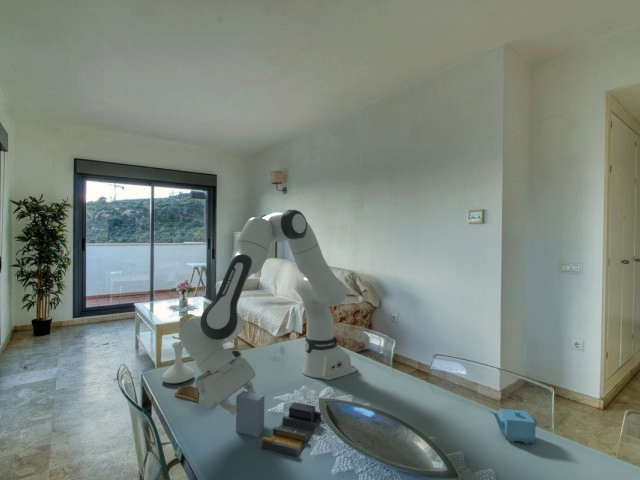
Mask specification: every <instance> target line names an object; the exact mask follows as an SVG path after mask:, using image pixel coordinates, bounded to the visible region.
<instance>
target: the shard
mask: <svg viewBox="0 0 640 480" xmlns="http://www.w3.org/2000/svg"><path fill="white" fill-rule="evenodd" d="M198 394H199V389H198V388H197V386H196V385H184V386H183V385H182V386H179V387H178V388H177V391H176V392H175V393H174V397H178V398H183V399H185V400H189V401H192V402H198V401H199V395H198Z"/></svg>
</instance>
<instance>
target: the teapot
mask: <svg viewBox="0 0 640 480" xmlns="http://www.w3.org/2000/svg"><path fill="white" fill-rule="evenodd" d="M489 413H491V414H493V416H494V417H495V420H496V424H497V425H498V428H499V430H500V431H501V433H502V435H503V436H504V438H505V440H507V441H508V442H510V443H512V444H514V443H515V442H522V443H523V444H524V445H530V443H533V444H536V427H537V426H538V422H537V419H535V418H534V417H533V416H531V415H530V414H529V413H528V412H527V410H526V411H525V410H520V409H519V410H518V409H517V410H516V409H509V408H499V409H498V413H497V412H495V411H490V412H489Z"/></svg>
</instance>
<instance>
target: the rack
mask: <svg viewBox="0 0 640 480" xmlns="http://www.w3.org/2000/svg"><path fill="white" fill-rule="evenodd" d="M322 419H323V418H322V411H316V406H314V405H309V404H305V403H300V402H295V401H294V402H292V404H291V405H290V406H289V408H288V415H287V416H284V415H283V417H282V422H281V423H280V424H279V425H278V426H273V428H272V434H271V435H270V436H269V437H267V436H263V438H262V441H261V450H267V451H271V452H274V453H277V454H282V455H285V456H290V457H294V458H297V457H298V456H299V455H300V454H301V451H303V449H304V447H305V445H306V444H307V443H308V441H309V439H310V438H311V436H312V434H313V433H314V431H315V430H316V429H315V428H317V427H318V426H319V424H320V422H321V421H322Z"/></svg>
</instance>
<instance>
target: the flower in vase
mask: <svg viewBox="0 0 640 480" xmlns="http://www.w3.org/2000/svg"><path fill="white" fill-rule="evenodd" d="M193 316H195V314H192V313H185V314H183V316H181V317H179V318H180V319H179V322H178V328H179V329H180V328H181V326H182V325H183V324H184V323H185V322H186V321H187V320H188V319H190V318H191V317H193ZM171 337H172V338H173V339H175V340H179V341H176V342H173V343H171V346H172V348H173V349H174V356H175V357H174V358H175V359H174V363H173V365H171V366H170V367H169V368H168V369H167V370H166V371H165V372H164V373H163V374H162V376H161V379H162V381H163V382H165V383H167V384H180V383H184V382H186V381H189V380H190V379H191V380H192V378H193V377H194V375H195V371H194V370H193V368H191V367H190V366H189V365H186V364H185V363H184V362H183V361H182V360H183V359H182V358H183V357H182V356H183V349H184V346H183V345H182V343H181V341H180V338H179V337H175V336H174V335H172V336H171Z"/></svg>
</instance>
